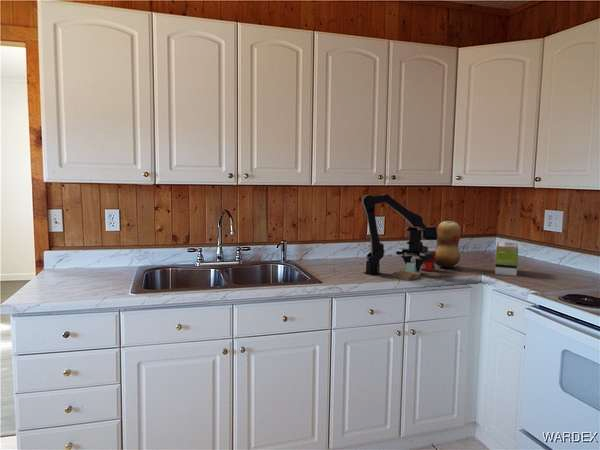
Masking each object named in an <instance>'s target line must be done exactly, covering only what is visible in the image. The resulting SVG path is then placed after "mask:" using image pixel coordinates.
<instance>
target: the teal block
mask: <svg viewBox="0 0 600 450" xmlns="http://www.w3.org/2000/svg"><path fill="white" fill-rule="evenodd" d="M405 265H406V269H405V270H406V271H410V272H415V273H419V274H421V272H422V271H421V268H420V270H419V272H417V270H416V261H411V262H408V263H407V264H405Z"/></svg>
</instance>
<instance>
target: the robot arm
mask: <svg viewBox="0 0 600 450" xmlns="http://www.w3.org/2000/svg"><path fill="white" fill-rule="evenodd" d="M361 203H362V205H363V208H364V212H365V214H366V219H367V223H368V224H367V225H368V230H369V236H370V250H369V253H367V254H366V255H365V257H366V260H367V261H365V271H363V273H364V274H366V275H370V276H375V275H376V276H377V275H382V272H380V269H381V267H380V266H381V264H380V261H381V259H383V258H384V256H385V253H386V252H385V244H384V243H383V242H380V238H379V232H378V227H377V222H376V221H377V220H376V215H375V214H376V213H375V211H376V205H377V204H382V203H385V204H386V205H388V206H389V207H390V208H391V209H393V210H394V211H395V212H397V213H398V214H400V215H401V216H402V217H403V218H404V219H405V221H407V222H408V224H409V225H408V226H407V227H406V228H404V230H405V231H406V232H408V241H407V242H406V244H408V247H407V248H405V247H402V248H397V249H396V251H395V254H396V255H397V256H400V257H401V258H402V259H403V261H404V263H405V265H406V264H407V263H408V262H412V258H413V256H415V257H417V258H415V262H416V270H417V272H419V270H420V268H421V265H422V263H423V262H424V261H425V260H429V259H433V254H432V253H428V252H427V251H428V248H429V247H428V246H426V245H424V244H423V241H422V239H423V240H424V241H437V230H438V229H437V226H436V225H435V226H433V225H432V226H426V225H425V223H424V222H423V221H424V219H423V217H422V216H421V215H420V214H417V213H415V212H413V211H411V210H409V209H408V208H406V207H404V206H403V205H402V204H400V203H399V202H398V201H397V200H395V198H393V197H392V196H390V195H389V194H388V193H383V194H378V195H371V194H365V195H364V196H362V198H361ZM411 226H413V227H411ZM418 228H419V229H418ZM420 252H421V253H420Z"/></svg>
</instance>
